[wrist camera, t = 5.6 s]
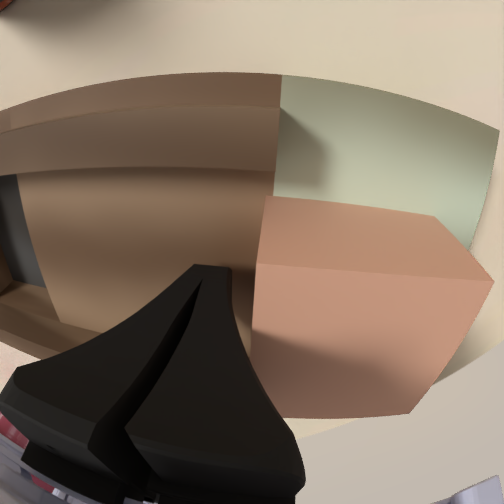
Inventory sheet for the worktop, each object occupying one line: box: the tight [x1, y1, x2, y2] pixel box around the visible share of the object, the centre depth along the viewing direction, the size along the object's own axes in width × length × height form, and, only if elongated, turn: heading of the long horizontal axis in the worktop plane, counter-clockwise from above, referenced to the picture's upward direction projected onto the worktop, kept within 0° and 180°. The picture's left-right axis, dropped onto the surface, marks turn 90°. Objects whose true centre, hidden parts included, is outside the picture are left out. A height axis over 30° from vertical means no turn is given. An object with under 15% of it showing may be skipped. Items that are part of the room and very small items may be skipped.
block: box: [250, 195, 494, 419], centre depth 9 cm, size 6×6×4 cm
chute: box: [0, 72, 499, 360], centre depth 12 cm, size 14×28×5 cm, turn 87°
